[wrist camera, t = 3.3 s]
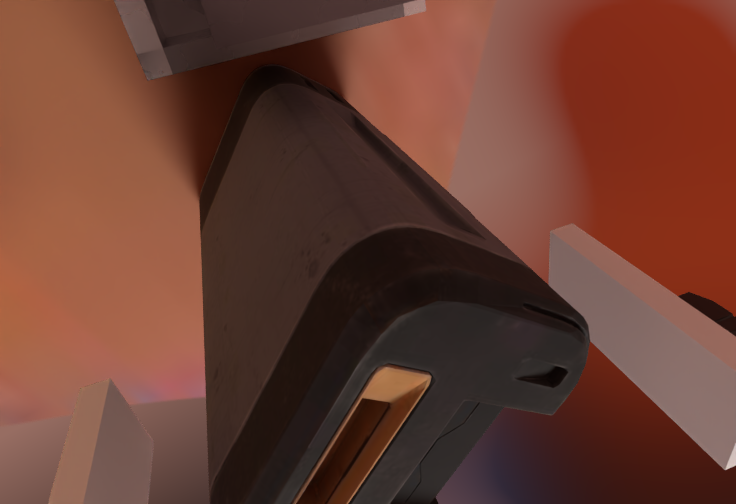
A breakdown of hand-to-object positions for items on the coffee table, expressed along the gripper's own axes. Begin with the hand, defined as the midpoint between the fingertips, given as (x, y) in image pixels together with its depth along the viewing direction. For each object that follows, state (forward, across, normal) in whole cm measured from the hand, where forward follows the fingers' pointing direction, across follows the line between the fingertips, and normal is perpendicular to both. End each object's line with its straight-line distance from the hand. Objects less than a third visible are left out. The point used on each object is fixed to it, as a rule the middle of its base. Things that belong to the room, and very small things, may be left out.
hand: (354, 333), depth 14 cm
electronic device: (+15, 0, 0) cm, 15 cm away
